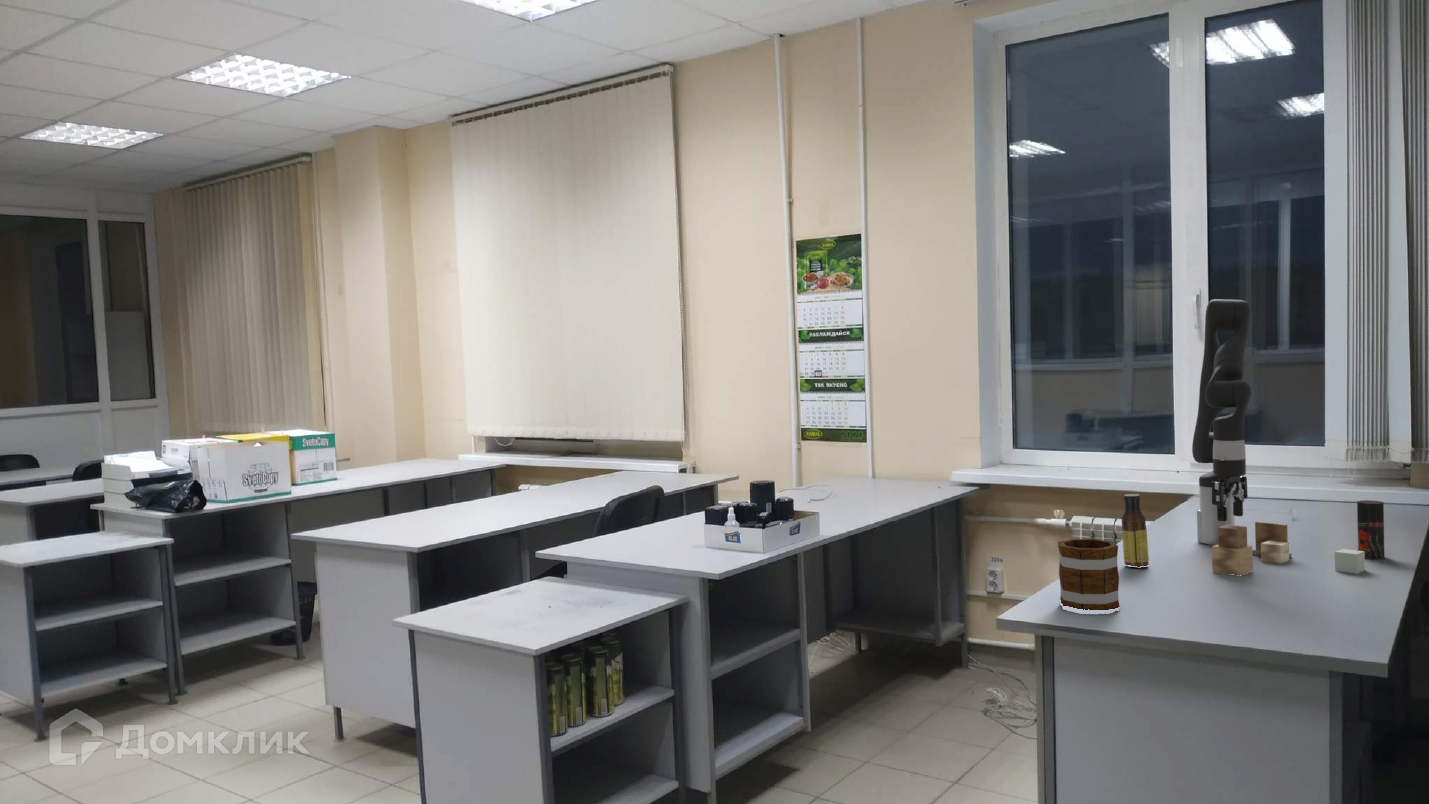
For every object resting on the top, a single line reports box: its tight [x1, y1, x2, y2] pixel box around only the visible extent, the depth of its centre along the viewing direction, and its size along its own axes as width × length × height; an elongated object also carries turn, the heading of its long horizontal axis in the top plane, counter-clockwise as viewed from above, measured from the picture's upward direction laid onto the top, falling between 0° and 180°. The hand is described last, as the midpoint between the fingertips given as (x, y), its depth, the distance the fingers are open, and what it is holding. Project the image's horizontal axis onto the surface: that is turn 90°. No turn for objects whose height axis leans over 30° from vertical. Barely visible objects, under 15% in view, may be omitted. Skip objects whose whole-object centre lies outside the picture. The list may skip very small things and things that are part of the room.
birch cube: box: [1260, 540, 1290, 564], centre depth 259 cm, size 5×5×5 cm
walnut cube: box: [1218, 524, 1248, 549], centre depth 249 cm, size 5×5×5 cm
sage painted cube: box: [1334, 548, 1366, 574], centre depth 245 cm, size 5×5×5 cm
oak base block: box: [1211, 544, 1254, 577], centre depth 249 cm, size 7×7×7 cm
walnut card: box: [1252, 521, 1292, 559], centre depth 265 cm, size 9×3×9 cm, turn 37°
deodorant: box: [1356, 499, 1386, 560], centre depth 258 cm, size 6×6×15 cm
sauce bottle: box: [1121, 493, 1150, 567], centre depth 260 cm, size 6×6×20 cm
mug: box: [1057, 538, 1120, 610], centre depth 224 cm, size 20×14×15 cm
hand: (1230, 518), depth 249 cm, fingers open, 8 cm apart
